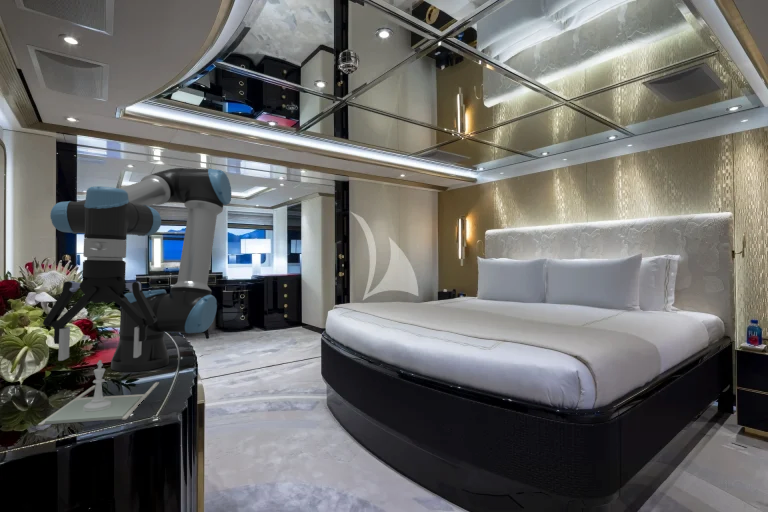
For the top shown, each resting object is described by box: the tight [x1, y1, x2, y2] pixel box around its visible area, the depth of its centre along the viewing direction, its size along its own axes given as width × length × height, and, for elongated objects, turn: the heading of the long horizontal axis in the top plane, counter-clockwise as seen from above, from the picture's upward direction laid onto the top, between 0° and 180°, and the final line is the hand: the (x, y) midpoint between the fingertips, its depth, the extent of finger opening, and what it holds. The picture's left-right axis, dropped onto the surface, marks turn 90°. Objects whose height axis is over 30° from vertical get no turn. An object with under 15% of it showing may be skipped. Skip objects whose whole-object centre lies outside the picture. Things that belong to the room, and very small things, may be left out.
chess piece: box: [83, 359, 112, 412], centre depth 83 cm, size 5×5×10 cm
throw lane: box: [37, 381, 160, 427], centre depth 88 cm, size 25×15×1 cm, turn 17°
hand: (101, 357), depth 84 cm, fingers open, 13 cm apart
